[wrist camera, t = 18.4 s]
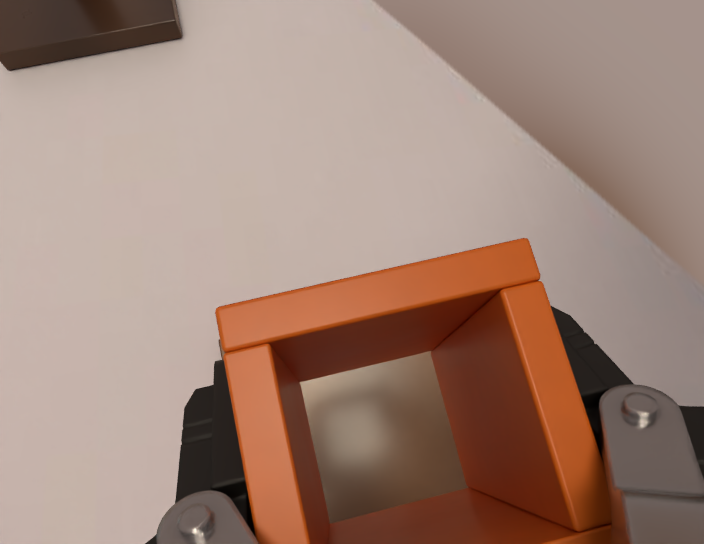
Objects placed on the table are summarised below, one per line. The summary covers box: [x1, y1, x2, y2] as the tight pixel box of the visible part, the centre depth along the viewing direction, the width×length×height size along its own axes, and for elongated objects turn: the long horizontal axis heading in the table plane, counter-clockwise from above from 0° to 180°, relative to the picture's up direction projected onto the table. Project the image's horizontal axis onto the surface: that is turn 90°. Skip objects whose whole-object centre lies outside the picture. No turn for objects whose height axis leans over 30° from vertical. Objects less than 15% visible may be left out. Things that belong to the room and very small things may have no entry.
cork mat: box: [219, 340, 469, 524], centre depth 28 cm, size 12×12×1 cm
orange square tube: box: [215, 238, 612, 544], centre depth 13 cm, size 6×6×8 cm
